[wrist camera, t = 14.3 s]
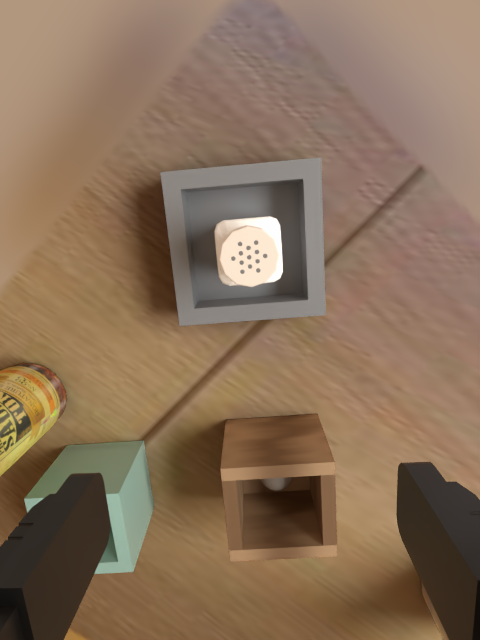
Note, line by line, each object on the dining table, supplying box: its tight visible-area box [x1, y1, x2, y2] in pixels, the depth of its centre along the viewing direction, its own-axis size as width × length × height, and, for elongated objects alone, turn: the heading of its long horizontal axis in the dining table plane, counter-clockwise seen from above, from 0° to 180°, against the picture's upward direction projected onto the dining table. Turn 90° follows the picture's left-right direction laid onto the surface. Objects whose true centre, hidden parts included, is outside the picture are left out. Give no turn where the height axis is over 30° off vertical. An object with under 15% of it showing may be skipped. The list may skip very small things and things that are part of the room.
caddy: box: [160, 158, 326, 326], centre depth 29 cm, size 11×11×4 cm
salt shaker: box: [214, 216, 283, 287], centre depth 25 cm, size 4×4×10 cm
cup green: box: [24, 440, 154, 574], centre depth 33 cm, size 7×7×7 cm
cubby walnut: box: [220, 414, 337, 562], centre depth 32 cm, size 8×8×7 cm
